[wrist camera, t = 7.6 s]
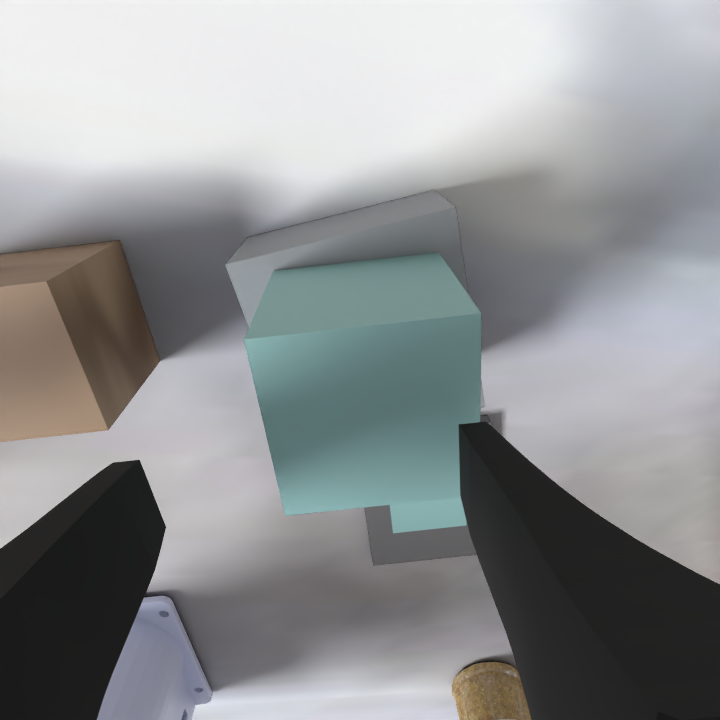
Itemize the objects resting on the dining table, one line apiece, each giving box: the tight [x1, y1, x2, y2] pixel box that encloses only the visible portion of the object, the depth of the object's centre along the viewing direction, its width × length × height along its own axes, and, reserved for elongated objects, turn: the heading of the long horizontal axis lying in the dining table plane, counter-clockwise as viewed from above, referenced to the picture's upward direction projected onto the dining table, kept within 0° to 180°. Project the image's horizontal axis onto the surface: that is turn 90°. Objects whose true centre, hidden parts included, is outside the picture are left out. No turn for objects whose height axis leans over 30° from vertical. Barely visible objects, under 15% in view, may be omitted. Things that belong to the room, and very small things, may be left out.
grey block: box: [225, 190, 485, 408], centre depth 18 cm, size 7×7×4 cm
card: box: [365, 415, 491, 566], centre depth 23 cm, size 8×6×1 cm
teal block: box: [244, 252, 481, 516], centre depth 14 cm, size 5×5×5 cm
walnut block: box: [0, 240, 160, 442], centre depth 17 cm, size 5×5×5 cm
